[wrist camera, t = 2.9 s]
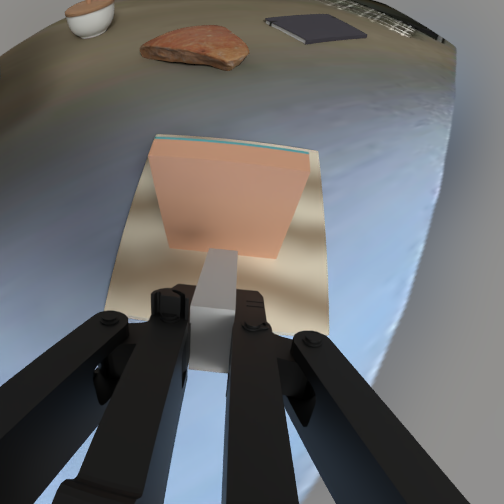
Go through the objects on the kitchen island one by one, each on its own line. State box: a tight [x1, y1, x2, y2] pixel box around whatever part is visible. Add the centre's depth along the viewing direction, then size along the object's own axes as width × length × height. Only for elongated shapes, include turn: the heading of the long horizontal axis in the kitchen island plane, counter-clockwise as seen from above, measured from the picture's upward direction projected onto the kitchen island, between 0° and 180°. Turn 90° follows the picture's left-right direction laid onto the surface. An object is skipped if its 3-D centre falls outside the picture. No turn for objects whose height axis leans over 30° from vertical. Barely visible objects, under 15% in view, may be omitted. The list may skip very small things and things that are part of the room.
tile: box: [148, 137, 310, 259], centre depth 22 cm, size 2×9×11 cm, turn 86°
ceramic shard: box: [140, 25, 249, 71], centre depth 41 cm, size 15×6×15 cm
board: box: [104, 134, 329, 336], centre depth 28 cm, size 20×18×1 cm
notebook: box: [265, 14, 367, 44], centre depth 54 cm, size 13×2×21 cm
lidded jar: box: [65, 0, 114, 39], centre depth 43 cm, size 11×11×9 cm
